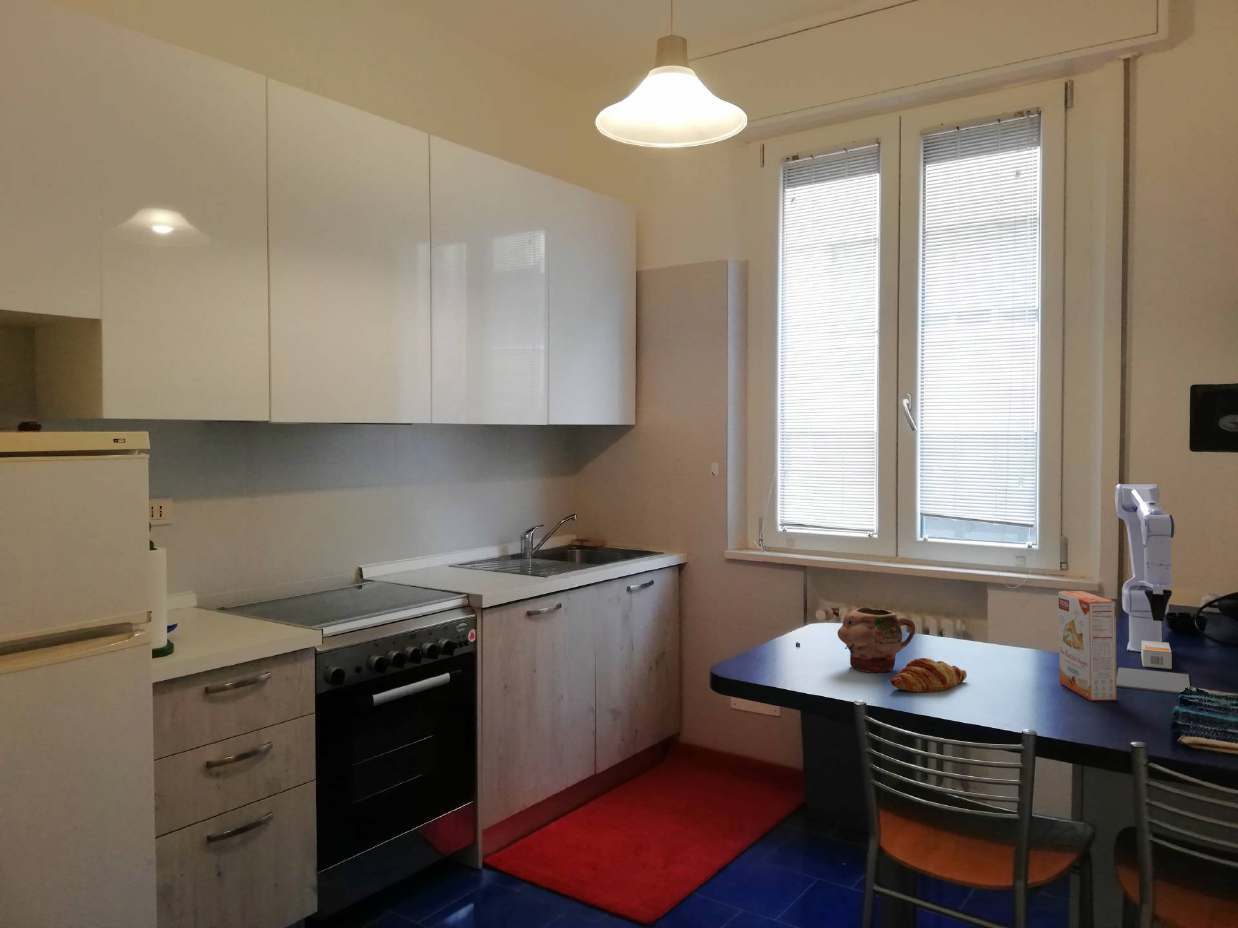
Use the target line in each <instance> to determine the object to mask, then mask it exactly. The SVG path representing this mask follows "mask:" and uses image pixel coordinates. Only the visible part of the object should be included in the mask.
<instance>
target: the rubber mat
mask: <svg viewBox="0 0 1238 928" xmlns="http://www.w3.org/2000/svg"><path fill="white" fill-rule="evenodd" d="M1190 685H1191V684H1190V675H1189V673H1181V672H1180V673H1178V672H1169V671H1159V670H1147V669H1138V668H1129V667H1128V668H1127V667H1118V669H1117V672H1116V688H1124V689H1133V690H1143V691H1151V692H1160V693H1168V694H1169V693H1171V694H1179V695H1181V694H1180V693H1181V692H1183V691H1184V690H1185V688H1187V687H1190V688H1191V686H1190Z"/></svg>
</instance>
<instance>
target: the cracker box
mask: <svg viewBox="0 0 1238 928" xmlns="http://www.w3.org/2000/svg"><path fill="white" fill-rule="evenodd" d="M1116 603H1117V602H1116V601H1114V600H1110V599H1107V598H1104V597H1101V596H1098V595H1095V594H1094V593H1093V594H1092V593H1090V592H1087V591H1085V590H1084V591H1083V590H1061V591H1058V643H1059V646H1058V649H1059V650H1058V652H1059V656H1058V657H1059V683H1060V685H1063V686H1064V687H1066V688H1068V689H1069V690H1071V691H1073V692H1074V693H1076V694H1078V695H1080V696H1081V697H1083V698H1085V699H1086V700H1088V701H1090V702H1100V701H1101V702H1102V701H1106V702H1107V701H1117V699H1118V697H1117V692H1118V690H1117V688H1118V687H1116V678H1117V628H1116V627H1117V623H1116V622H1117V621H1116V619H1117V618H1116V616H1117V613H1116V612H1117V610H1116V608H1117V606H1116Z"/></svg>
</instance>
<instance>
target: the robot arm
mask: <svg viewBox="0 0 1238 928" xmlns="http://www.w3.org/2000/svg"><path fill="white" fill-rule="evenodd" d="M1160 496H1161V495H1160V488H1159V486H1158V485H1157V484H1156V483H1152V484H1151V483H1149V484H1146V483H1145V484H1144V483H1143V484H1140V483H1139V484H1133V483H1132V484H1131V483H1130V484H1127V483H1126V484H1122V483H1117V485H1115V488H1114V502H1115V504H1114V505H1115V512H1116V514H1117V517H1118V518H1119V519H1121V520H1123V521H1124V524H1125V527H1126V530H1127V539H1128V548H1129V557H1130V566H1131V574H1132V578H1130V579H1128V580H1126V581H1125V582H1124V583H1123V586H1122V587H1121V594H1122V596H1121V604H1122V609H1123V611H1124V612H1125V613H1126V614H1128V633H1129V634H1128V642H1127V647H1126V650H1127V651H1128V650H1129V651H1130V652H1141V643H1142V640H1144V641H1156V642H1163V641H1162V622H1164V621H1165V616H1166V614H1167V613H1168V612H1169V609H1170V602H1169V601H1170V599H1171V597H1172V595H1173V591H1172V590H1171V589H1167V588H1172V587H1173V586H1174V583H1173V566H1172V565H1173V564H1172V563H1173V561H1172V559H1173V558H1172V557H1173V556H1172V553H1173V551H1172V550H1173V549H1172V547H1173V546H1172V544H1173V543H1172V542H1173V541H1172V539H1174V537H1175V533H1176V532H1175V531H1176V523H1175V519H1174V515H1173V514H1172V513H1167V514H1166V512H1165V510H1164V508H1163V506H1162V505H1161V504H1160V499H1161V498H1160ZM1129 651H1128V652H1129Z"/></svg>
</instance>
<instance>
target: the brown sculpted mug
mask: <svg viewBox="0 0 1238 928" xmlns="http://www.w3.org/2000/svg"><path fill="white" fill-rule="evenodd" d="M902 626H906V627H908V630H909V634H908V636H907V637H906V639H905V640H903V632H902V631H903V630H902ZM915 634H916V624H915V623H914V621H913V620H912V619H910V618H908V617H906V616H899V617H898V616H897V613H895V612H893V611H891V610H886V609H881V608H880V609H879V608H871V607H862V608H861V607H859V608H858V609H854V610H851V611H850V612H848V613H846V615H844V617H843V620H842V624H841V626H840V628H839V629H838V630H837V637H838V638H839V640H840V641H841V642H842V643H843V644H844V645H846V647H847V649H848V650H849V663H850V667H852V668H853V669H855V670H857V669H858V671H861V670H862V671H861V672H865V671H867V673H874V672H879V673H888V672H887V671H889V672H891V671H893V670H894V668H895V665H896V664H895V663H896V655H897V654H898V653H900V651H902V650H903V649H904V648H905V649H906V647H907V646H908V645H909V644H910V643H911V642H912V641H911V640H913V638H914V635H915ZM890 670H891V671H890Z"/></svg>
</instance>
